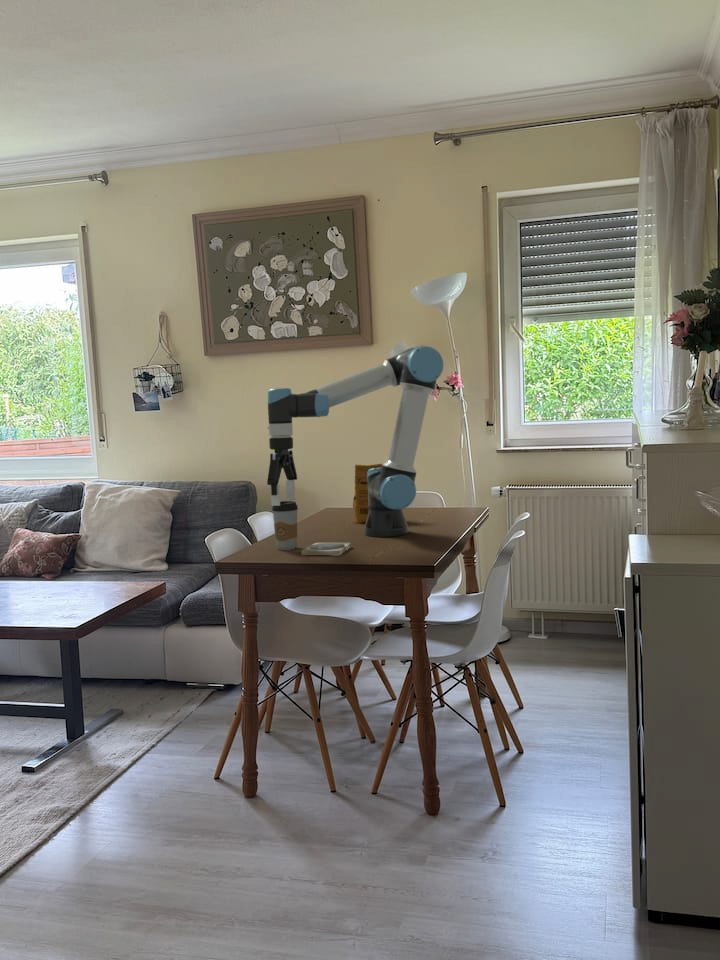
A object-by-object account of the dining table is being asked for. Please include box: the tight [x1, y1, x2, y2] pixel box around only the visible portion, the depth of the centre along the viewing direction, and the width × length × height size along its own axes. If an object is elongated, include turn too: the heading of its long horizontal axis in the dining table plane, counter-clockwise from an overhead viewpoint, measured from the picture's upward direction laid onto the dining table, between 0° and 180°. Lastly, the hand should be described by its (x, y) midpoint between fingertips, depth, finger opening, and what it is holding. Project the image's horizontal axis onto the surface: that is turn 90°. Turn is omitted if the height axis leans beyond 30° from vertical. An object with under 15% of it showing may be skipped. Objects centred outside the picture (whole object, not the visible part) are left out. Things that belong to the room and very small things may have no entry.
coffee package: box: [352, 463, 383, 524], centre depth 326 cm, size 10×12×22 cm
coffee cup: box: [271, 500, 299, 551], centre depth 278 cm, size 8×8×15 cm
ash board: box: [301, 541, 353, 557], centre depth 270 cm, size 14×12×2 cm
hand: (283, 502), depth 277 cm, fingers open, 13 cm apart
